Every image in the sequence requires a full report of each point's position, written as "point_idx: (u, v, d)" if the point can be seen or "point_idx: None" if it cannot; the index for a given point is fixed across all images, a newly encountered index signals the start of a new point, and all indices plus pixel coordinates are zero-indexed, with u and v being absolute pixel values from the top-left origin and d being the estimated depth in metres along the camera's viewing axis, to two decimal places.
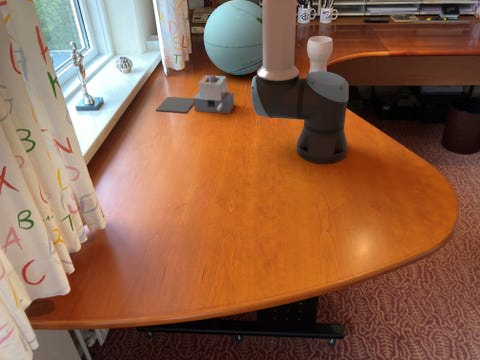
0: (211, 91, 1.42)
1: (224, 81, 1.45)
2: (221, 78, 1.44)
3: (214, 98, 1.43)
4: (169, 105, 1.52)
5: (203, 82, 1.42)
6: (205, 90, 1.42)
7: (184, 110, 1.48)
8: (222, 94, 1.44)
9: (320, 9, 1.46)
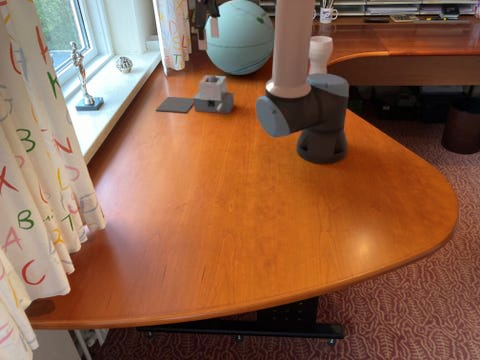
0: (211, 91, 1.42)
1: (224, 81, 1.45)
2: (221, 78, 1.44)
3: (214, 98, 1.43)
4: (169, 105, 1.52)
5: (203, 82, 1.42)
6: (205, 90, 1.42)
7: (184, 110, 1.48)
8: (222, 94, 1.44)
9: (204, 44, 1.29)
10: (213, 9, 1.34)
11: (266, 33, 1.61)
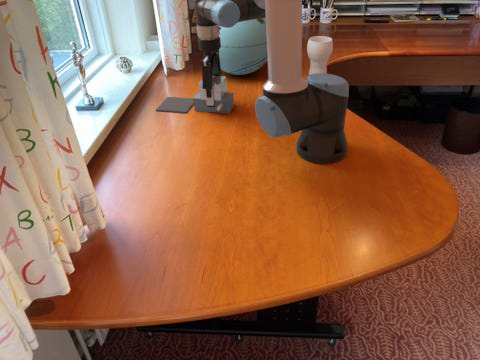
0: None
1: (224, 81, 1.45)
2: (221, 78, 1.44)
3: (214, 98, 1.43)
4: (169, 105, 1.52)
5: None
6: None
7: (184, 110, 1.48)
8: (222, 94, 1.44)
9: (211, 101, 1.43)
10: (216, 69, 1.44)
11: None
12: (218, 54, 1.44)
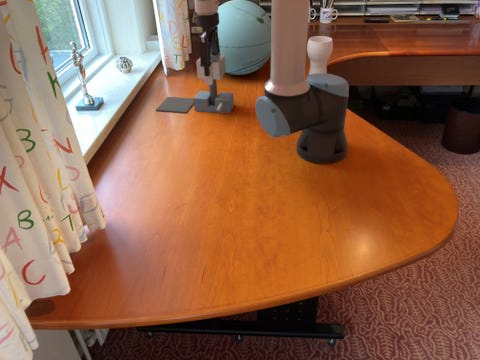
0: None
1: (223, 60, 1.40)
2: (220, 56, 1.40)
3: (212, 77, 1.39)
4: (169, 105, 1.52)
5: None
6: None
7: (184, 110, 1.48)
8: (221, 73, 1.39)
9: (209, 80, 1.39)
10: (214, 47, 1.40)
11: (266, 33, 1.61)
12: (217, 31, 1.39)
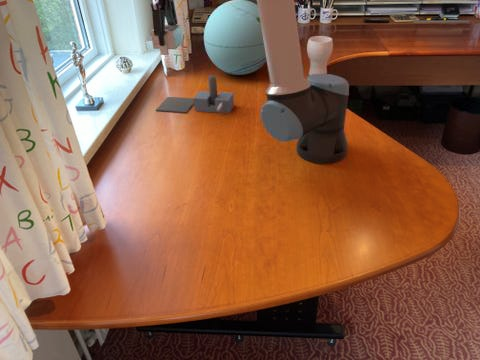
0: None
1: (179, 29, 1.38)
2: (176, 26, 1.37)
3: (168, 47, 1.36)
4: (169, 105, 1.52)
5: None
6: None
7: (184, 110, 1.48)
8: (177, 43, 1.37)
9: (165, 50, 1.36)
10: (170, 17, 1.37)
11: None
12: (172, 1, 1.37)
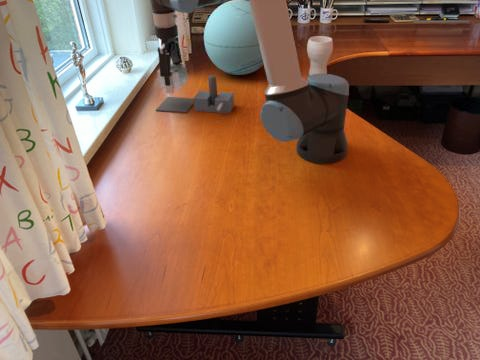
0: None
1: (183, 69, 1.46)
2: (180, 66, 1.45)
3: (173, 86, 1.44)
4: (169, 105, 1.52)
5: None
6: None
7: (184, 110, 1.48)
8: (181, 82, 1.45)
9: (170, 89, 1.44)
10: (175, 57, 1.45)
11: None
12: (177, 42, 1.45)
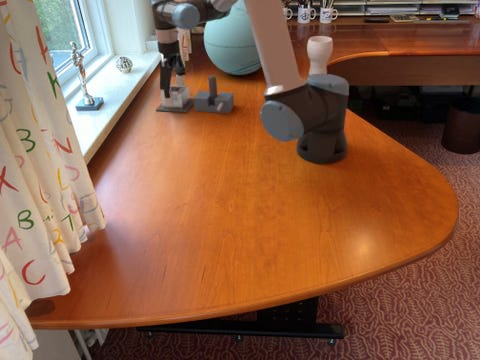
0: None
1: (186, 90, 1.50)
2: (183, 87, 1.50)
3: (176, 107, 1.49)
4: None
5: None
6: None
7: (184, 110, 1.48)
8: (184, 103, 1.49)
9: (170, 101, 1.45)
10: (178, 68, 1.49)
11: None
12: (179, 54, 1.47)
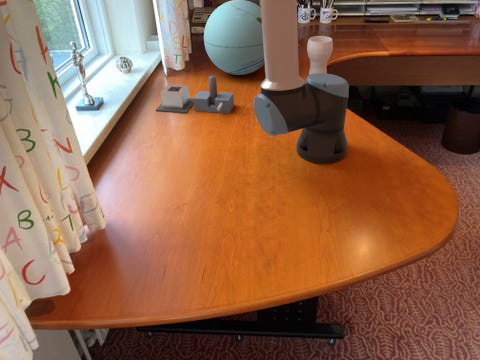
0: (172, 100, 1.47)
1: (186, 90, 1.50)
2: (183, 87, 1.50)
3: (176, 107, 1.49)
4: None
5: (165, 91, 1.47)
6: (167, 99, 1.48)
7: (184, 110, 1.48)
8: (184, 103, 1.49)
9: (199, 2, 1.32)
10: None
11: None
12: None
